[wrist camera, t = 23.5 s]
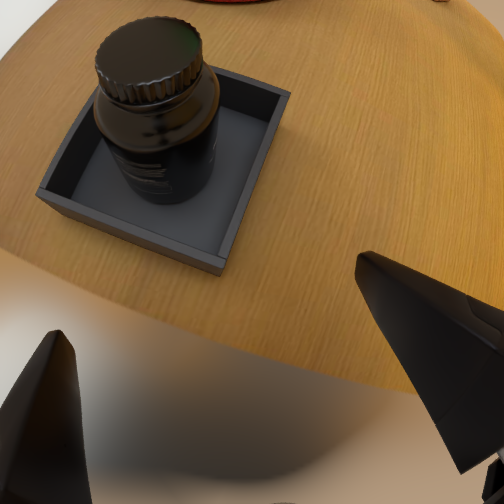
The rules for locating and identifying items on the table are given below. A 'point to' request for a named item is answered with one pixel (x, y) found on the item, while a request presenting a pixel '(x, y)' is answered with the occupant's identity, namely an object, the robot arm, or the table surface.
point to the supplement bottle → (158, 107)
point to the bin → (179, 213)
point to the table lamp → (231, 0)
